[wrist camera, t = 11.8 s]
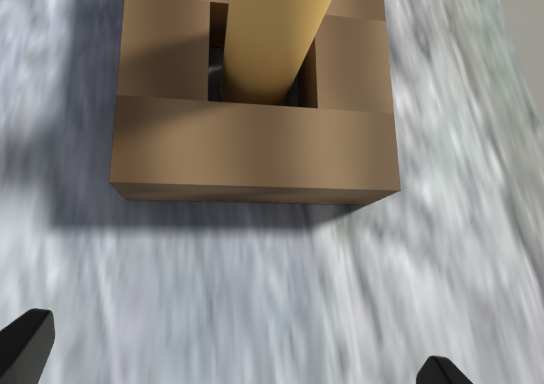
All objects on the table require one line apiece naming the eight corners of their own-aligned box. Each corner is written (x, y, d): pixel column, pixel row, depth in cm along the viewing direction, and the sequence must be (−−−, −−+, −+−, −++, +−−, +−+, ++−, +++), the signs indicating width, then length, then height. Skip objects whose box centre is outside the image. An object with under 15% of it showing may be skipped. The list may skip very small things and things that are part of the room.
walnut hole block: (126, 199, 21) (109, 181, 17) (142, -20, 24) (130, -78, 20) (367, 204, 23) (400, 190, 19) (354, 5, 26) (380, -42, 23)
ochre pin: (278, 128, 23) (366, -44, 11) (213, 112, 23) (228, -89, 10) (290, 71, 24) (383, -146, 12) (228, 54, 24) (258, -192, 11)
